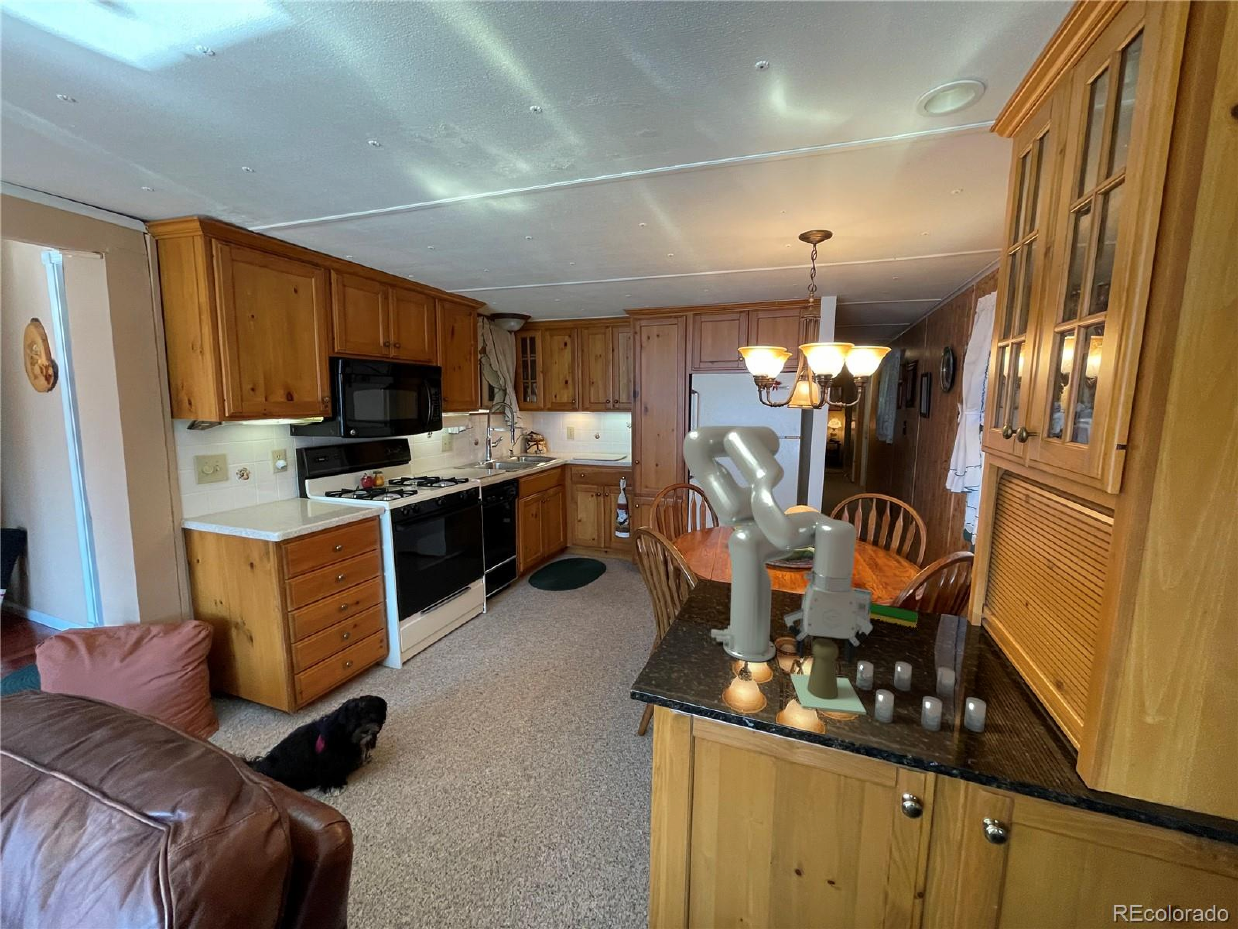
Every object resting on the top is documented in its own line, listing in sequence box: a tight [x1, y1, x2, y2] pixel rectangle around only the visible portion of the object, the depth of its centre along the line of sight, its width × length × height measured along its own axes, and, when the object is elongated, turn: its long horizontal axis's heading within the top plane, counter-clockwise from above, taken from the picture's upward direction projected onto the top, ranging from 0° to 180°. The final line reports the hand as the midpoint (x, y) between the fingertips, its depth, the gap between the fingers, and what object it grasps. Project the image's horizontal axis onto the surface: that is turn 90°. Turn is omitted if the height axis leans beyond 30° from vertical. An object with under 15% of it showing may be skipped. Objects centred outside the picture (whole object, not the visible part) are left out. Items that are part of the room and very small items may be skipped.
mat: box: [790, 673, 867, 716], centre depth 102 cm, size 12×12×1 cm
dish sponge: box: [870, 602, 919, 629], centre depth 140 cm, size 7×14×2 cm, turn 55°
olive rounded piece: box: [807, 638, 840, 700], centre depth 101 cm, size 6×6×11 cm
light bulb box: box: [852, 587, 872, 632], centre depth 133 cm, size 11×7×11 cm, turn 57°
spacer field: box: [855, 660, 987, 733], centre depth 98 cm, size 19×16×5 cm
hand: (824, 657), depth 102 cm, fingers open, 9 cm apart
